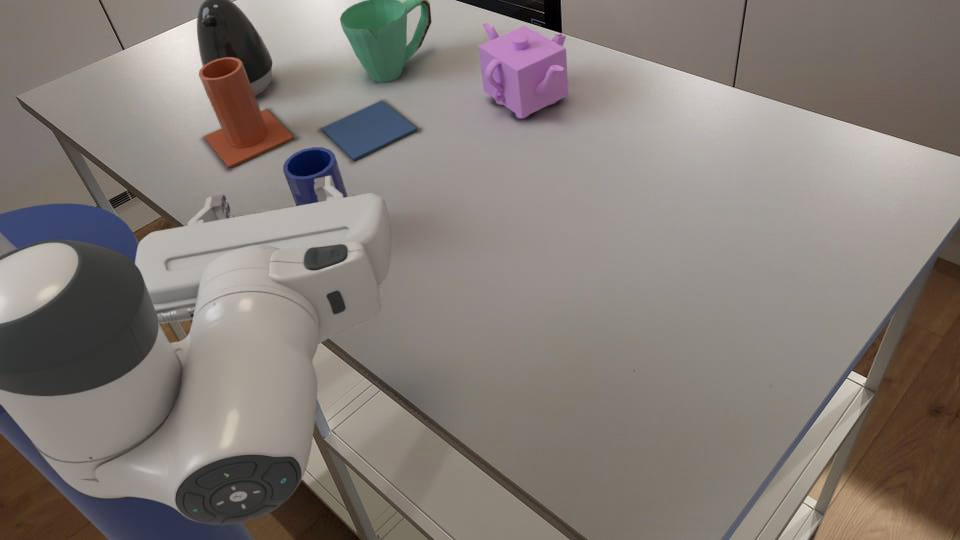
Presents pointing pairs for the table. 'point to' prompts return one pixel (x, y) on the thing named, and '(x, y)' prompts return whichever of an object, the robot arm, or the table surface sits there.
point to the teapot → (524, 69)
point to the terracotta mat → (239, 155)
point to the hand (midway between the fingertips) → (272, 192)
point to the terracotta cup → (233, 102)
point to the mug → (384, 34)
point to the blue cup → (311, 173)
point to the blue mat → (368, 130)
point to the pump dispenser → (233, 41)
